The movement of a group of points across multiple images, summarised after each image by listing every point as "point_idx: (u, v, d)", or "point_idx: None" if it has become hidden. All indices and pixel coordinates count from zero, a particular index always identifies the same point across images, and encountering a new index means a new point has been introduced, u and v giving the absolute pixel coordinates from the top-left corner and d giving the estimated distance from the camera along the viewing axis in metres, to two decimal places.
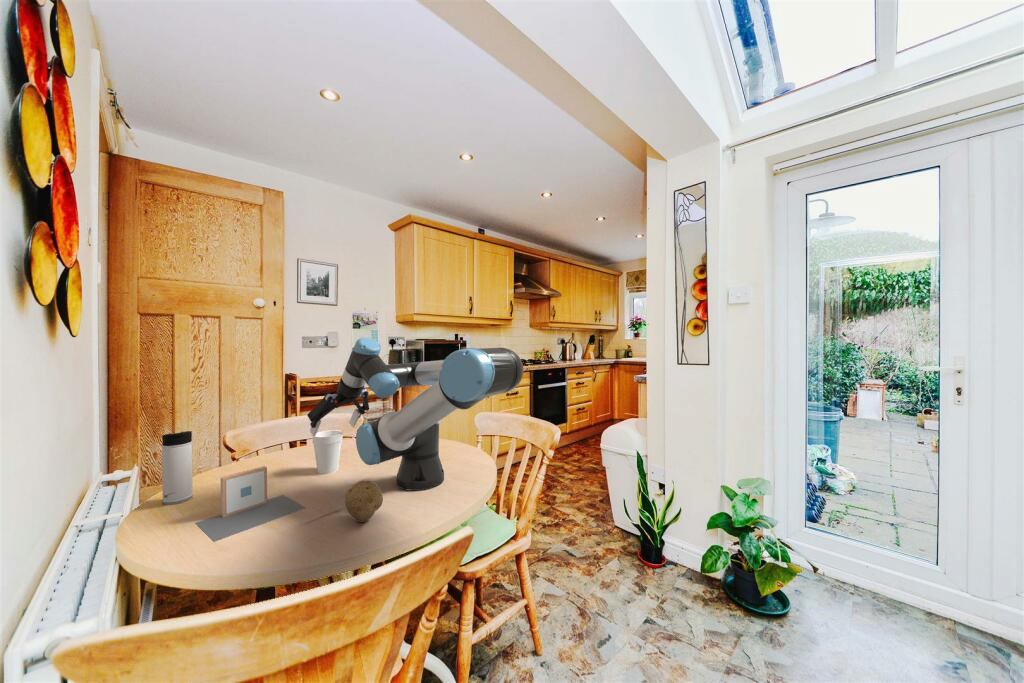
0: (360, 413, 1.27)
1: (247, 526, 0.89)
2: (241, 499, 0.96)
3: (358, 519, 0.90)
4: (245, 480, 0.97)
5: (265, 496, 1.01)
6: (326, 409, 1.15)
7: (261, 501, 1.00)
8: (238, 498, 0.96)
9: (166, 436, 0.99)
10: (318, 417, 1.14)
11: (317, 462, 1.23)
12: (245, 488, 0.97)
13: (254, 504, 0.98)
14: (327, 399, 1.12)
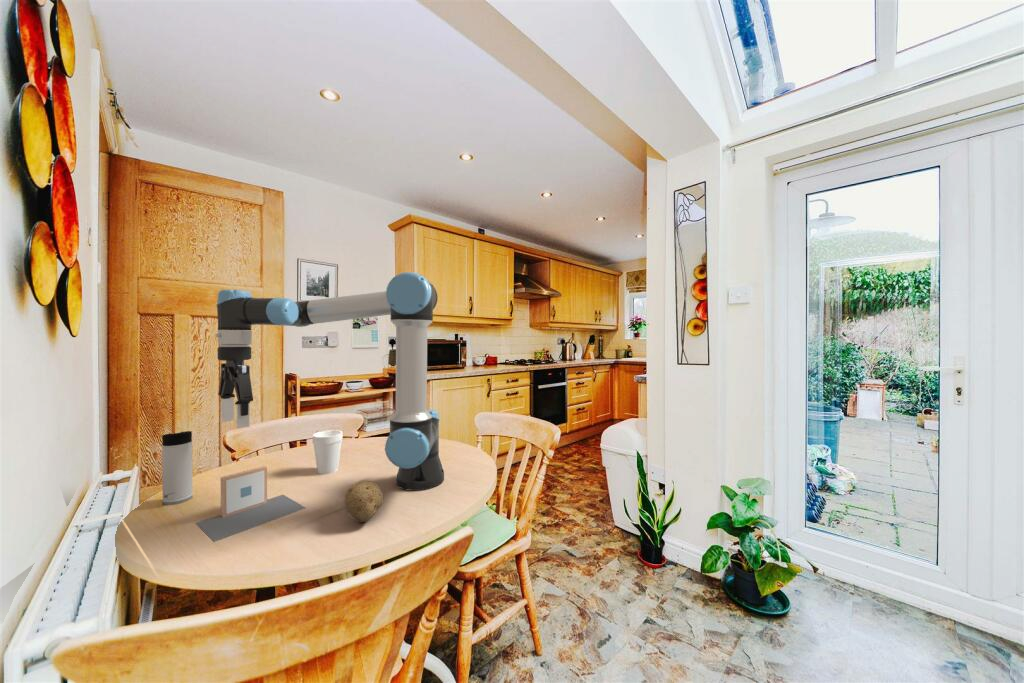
0: None
1: (247, 526, 0.89)
2: (241, 499, 0.96)
3: (358, 519, 0.90)
4: (245, 480, 0.97)
5: (265, 496, 1.01)
6: None
7: (261, 501, 1.00)
8: (238, 498, 0.96)
9: (166, 436, 0.99)
10: (248, 397, 0.98)
11: (317, 462, 1.23)
12: (245, 488, 0.97)
13: (254, 504, 0.98)
14: (247, 369, 0.98)
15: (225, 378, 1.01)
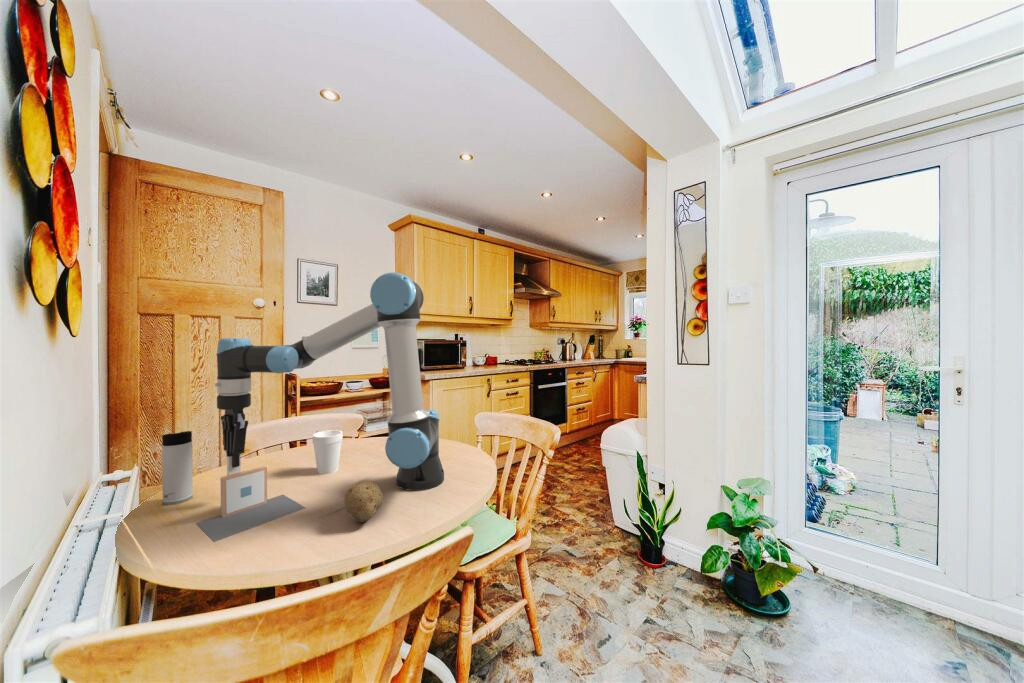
0: None
1: (247, 526, 0.89)
2: (241, 499, 0.96)
3: (358, 519, 0.90)
4: (245, 480, 0.97)
5: (265, 496, 1.01)
6: None
7: (261, 501, 1.00)
8: (238, 498, 0.96)
9: (166, 436, 0.99)
10: None
11: (317, 462, 1.23)
12: (245, 488, 0.97)
13: (254, 504, 0.98)
14: (245, 426, 0.98)
15: (226, 427, 1.00)
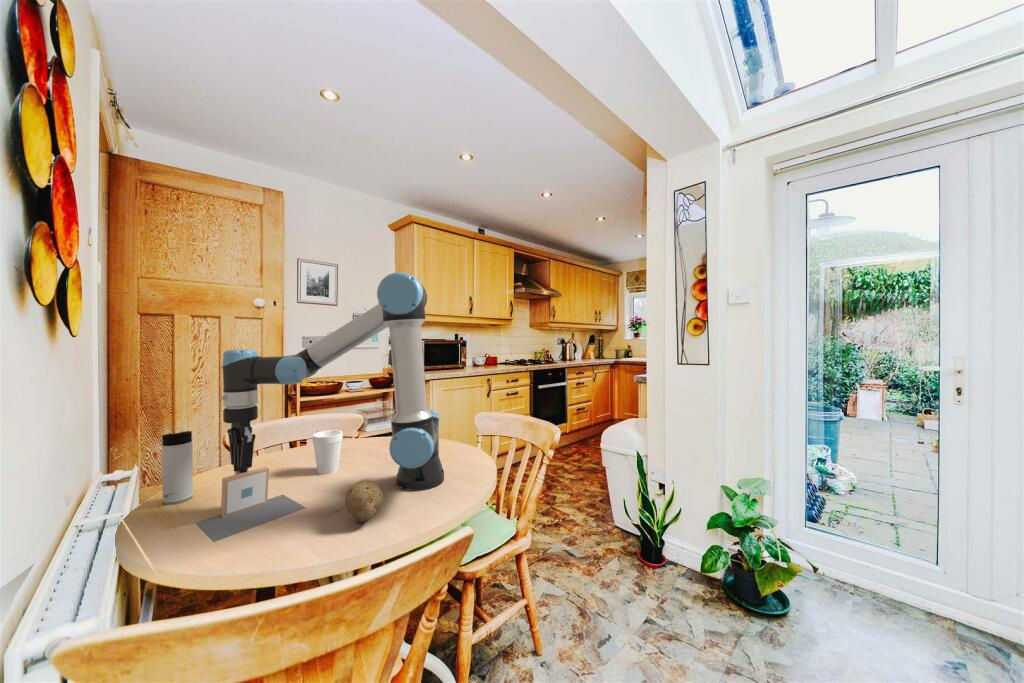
0: None
1: (247, 526, 0.89)
2: (242, 499, 0.96)
3: (358, 519, 0.90)
4: (247, 481, 0.96)
5: (265, 496, 1.01)
6: None
7: (261, 501, 1.00)
8: (238, 498, 0.95)
9: (166, 436, 0.99)
10: None
11: (317, 462, 1.23)
12: (246, 489, 0.96)
13: (254, 504, 0.98)
14: (252, 439, 0.96)
15: (233, 441, 0.98)
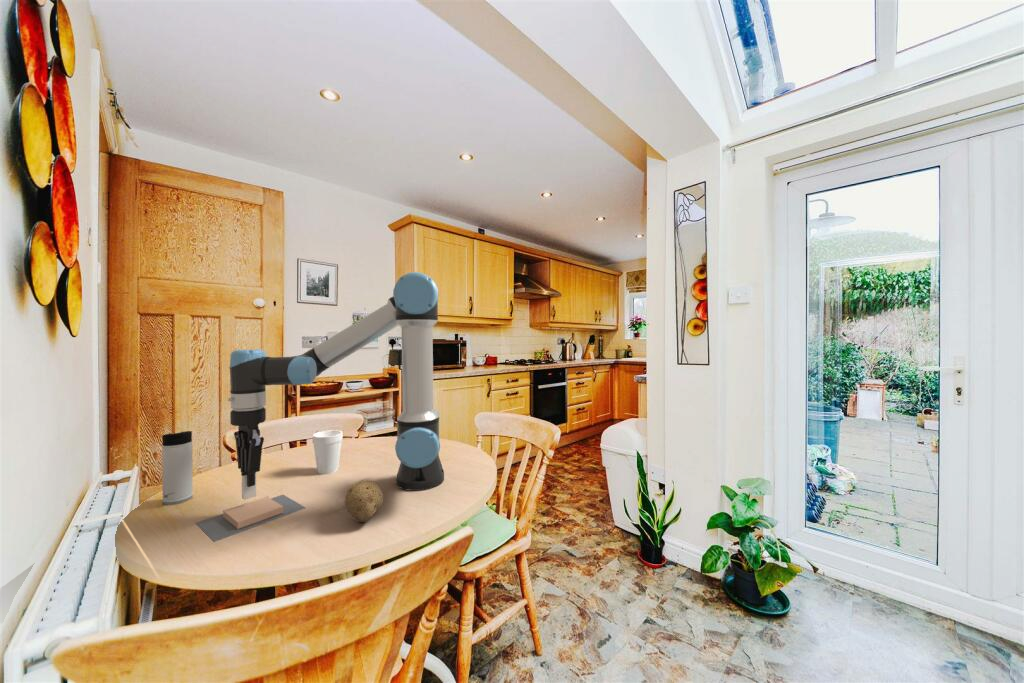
0: None
1: (247, 526, 0.89)
2: None
3: (358, 519, 0.90)
4: None
5: None
6: None
7: None
8: None
9: (166, 436, 0.99)
10: None
11: (317, 462, 1.23)
12: None
13: None
14: (261, 442, 0.93)
15: (241, 444, 0.95)
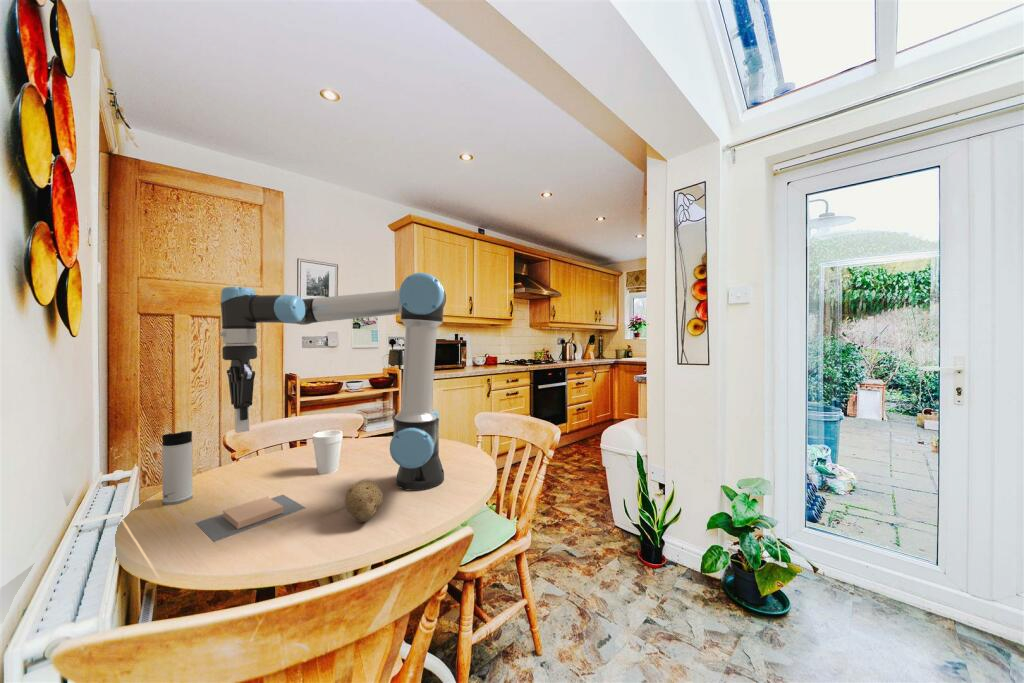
0: None
1: (247, 526, 0.89)
2: None
3: (358, 519, 0.90)
4: None
5: None
6: None
7: None
8: None
9: (166, 436, 0.99)
10: None
11: (317, 462, 1.23)
12: None
13: None
14: (252, 376, 0.95)
15: (233, 379, 0.98)
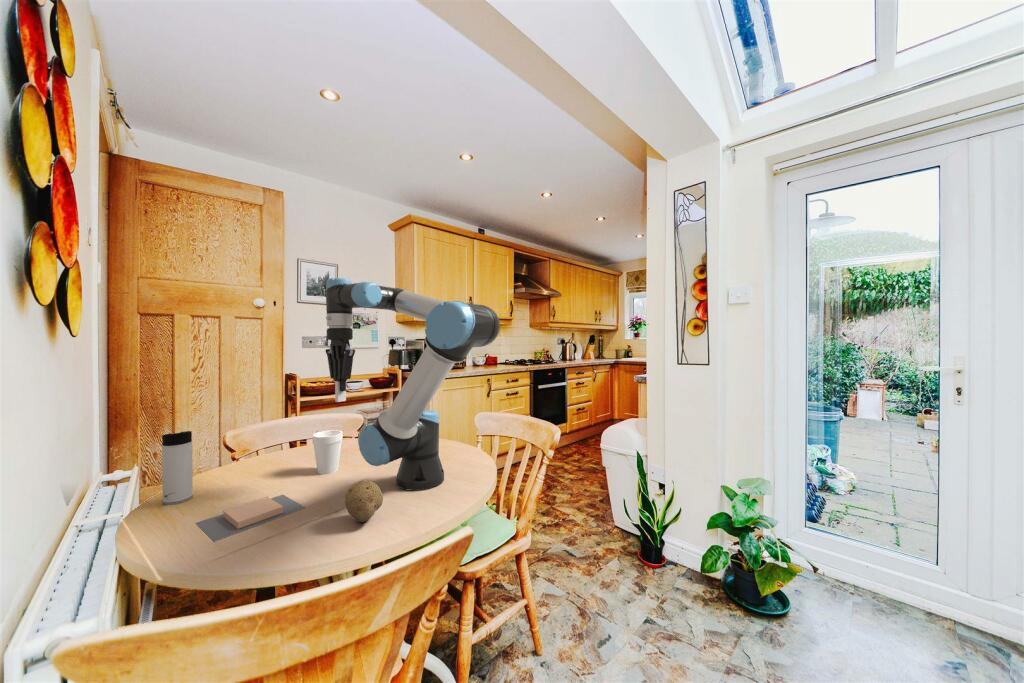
0: None
1: (247, 526, 0.89)
2: None
3: (358, 519, 0.90)
4: None
5: None
6: None
7: None
8: None
9: (166, 436, 0.99)
10: None
11: (317, 462, 1.23)
12: None
13: None
14: (353, 353, 1.13)
15: (334, 356, 1.15)
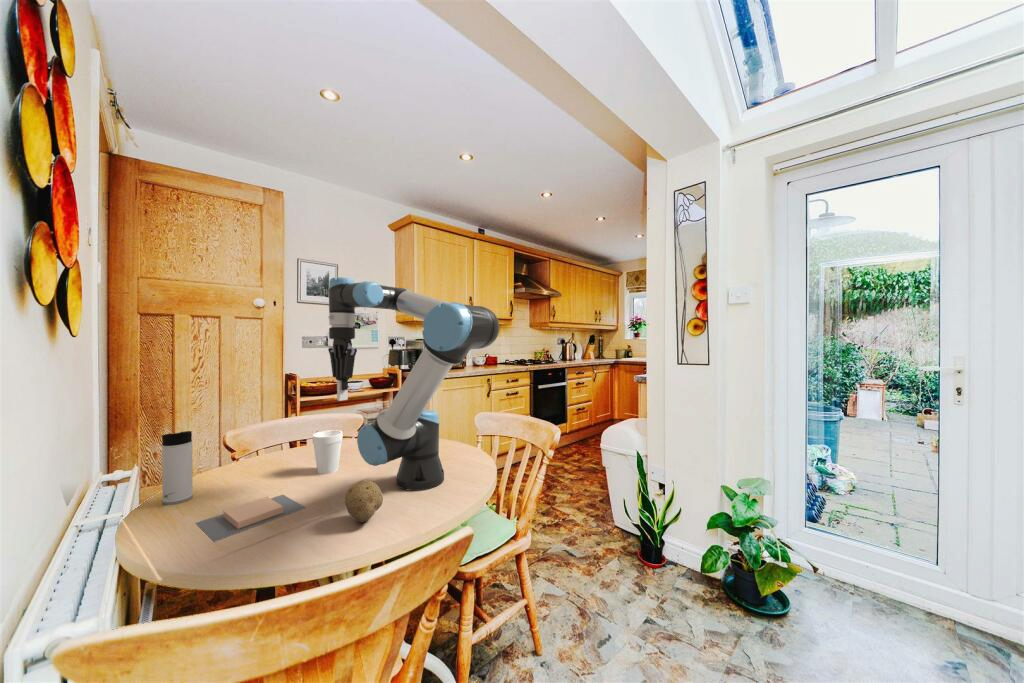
0: None
1: (247, 526, 0.89)
2: None
3: (358, 519, 0.90)
4: None
5: None
6: None
7: None
8: None
9: (166, 436, 0.99)
10: None
11: (317, 462, 1.23)
12: None
13: None
14: (354, 353, 1.14)
15: (336, 355, 1.16)
